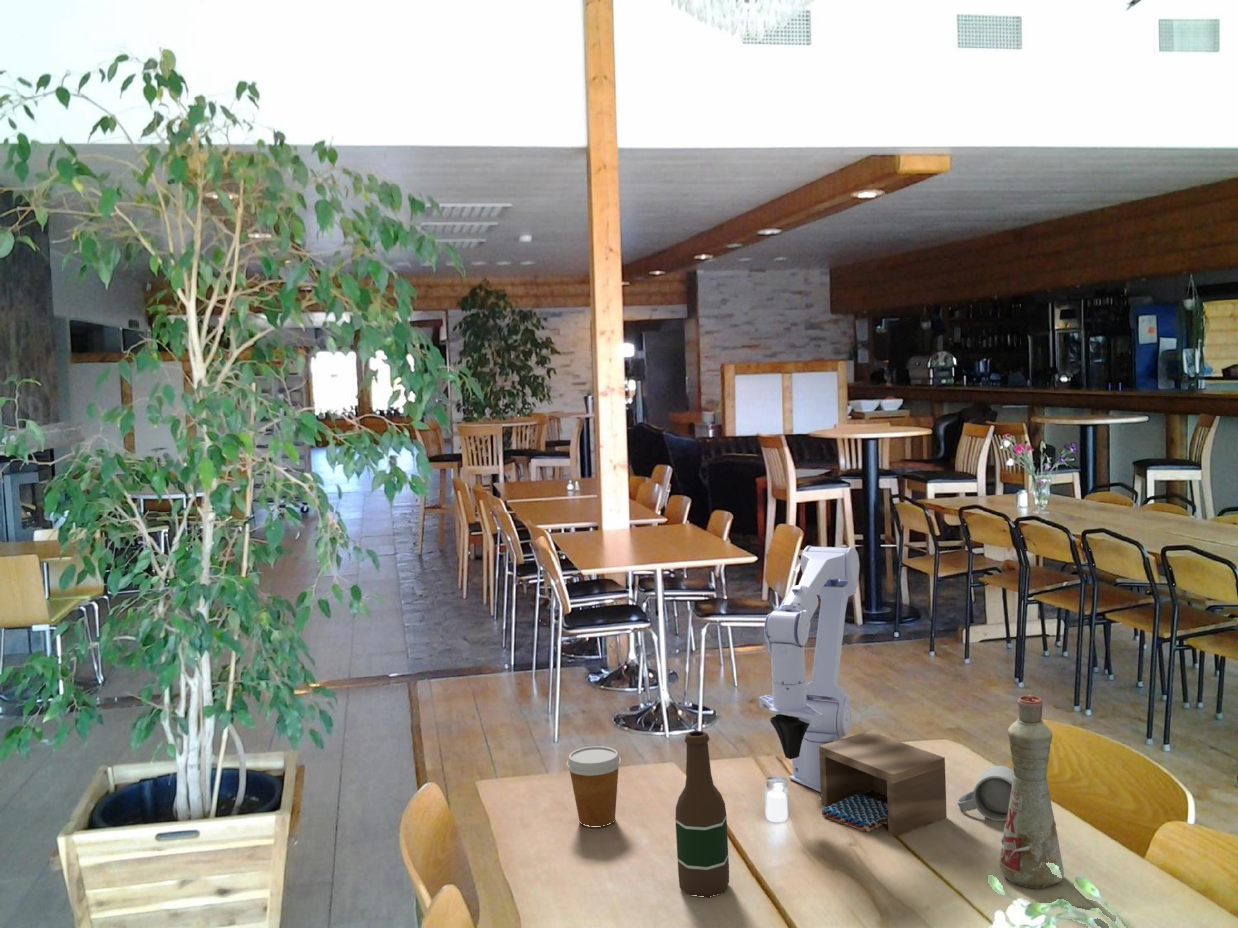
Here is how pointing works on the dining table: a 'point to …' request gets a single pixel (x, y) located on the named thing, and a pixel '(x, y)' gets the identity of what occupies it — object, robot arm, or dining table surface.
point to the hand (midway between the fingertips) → (792, 756)
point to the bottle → (1030, 803)
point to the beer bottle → (701, 825)
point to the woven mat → (858, 812)
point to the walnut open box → (886, 778)
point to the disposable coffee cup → (595, 783)
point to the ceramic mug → (990, 794)
